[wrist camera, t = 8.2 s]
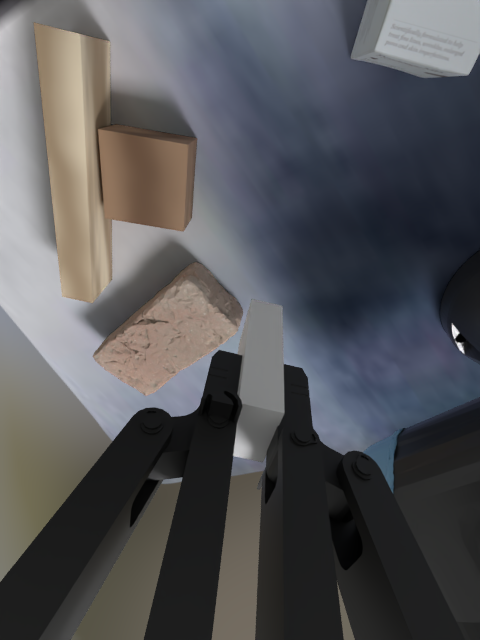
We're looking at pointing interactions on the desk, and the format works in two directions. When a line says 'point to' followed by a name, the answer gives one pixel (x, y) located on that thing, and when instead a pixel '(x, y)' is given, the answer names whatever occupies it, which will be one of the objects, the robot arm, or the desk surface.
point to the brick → (171, 331)
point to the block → (147, 176)
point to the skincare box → (420, 36)
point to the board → (76, 154)
